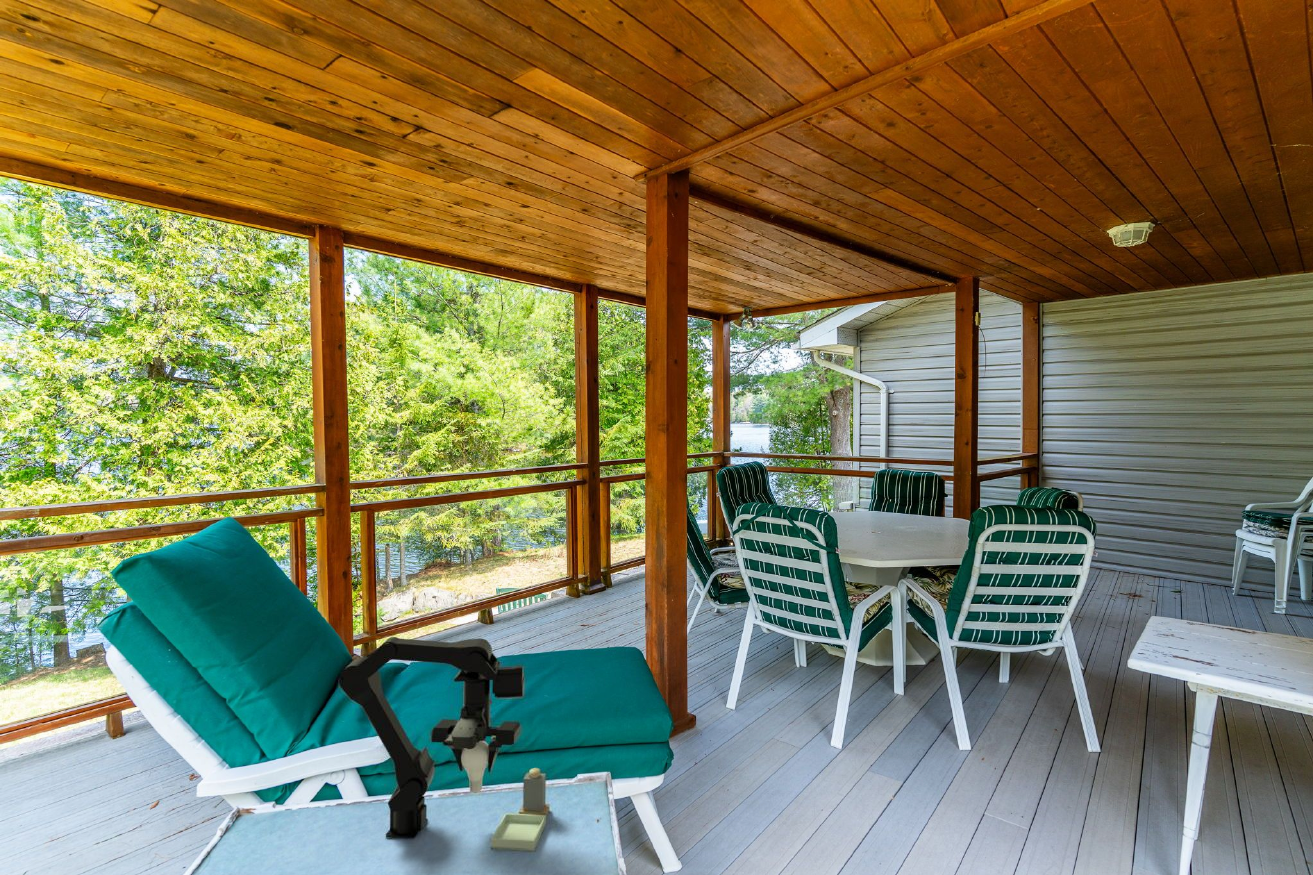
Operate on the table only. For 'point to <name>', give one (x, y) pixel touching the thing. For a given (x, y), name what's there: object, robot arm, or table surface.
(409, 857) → the table surface
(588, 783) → the table surface
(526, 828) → the tray
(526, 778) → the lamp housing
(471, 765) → the lightbulb
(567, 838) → the table surface
